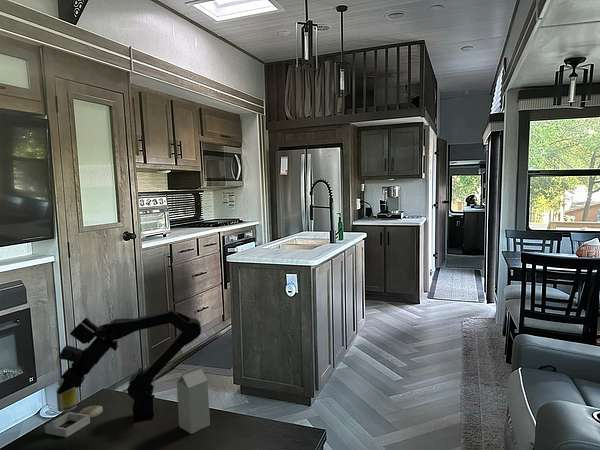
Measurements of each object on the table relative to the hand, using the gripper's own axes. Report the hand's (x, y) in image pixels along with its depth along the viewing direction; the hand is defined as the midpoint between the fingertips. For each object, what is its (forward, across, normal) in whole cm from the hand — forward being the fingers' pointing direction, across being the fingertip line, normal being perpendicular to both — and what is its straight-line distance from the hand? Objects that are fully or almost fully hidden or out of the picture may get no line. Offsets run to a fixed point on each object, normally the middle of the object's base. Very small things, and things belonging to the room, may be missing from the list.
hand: (61, 389), depth 136 cm
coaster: (+5, -8, +14) cm, 17 cm away
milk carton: (-20, +13, +39) cm, 46 cm away
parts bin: (+8, 0, +10) cm, 13 cm away
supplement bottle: (+4, 0, +6) cm, 7 cm away
